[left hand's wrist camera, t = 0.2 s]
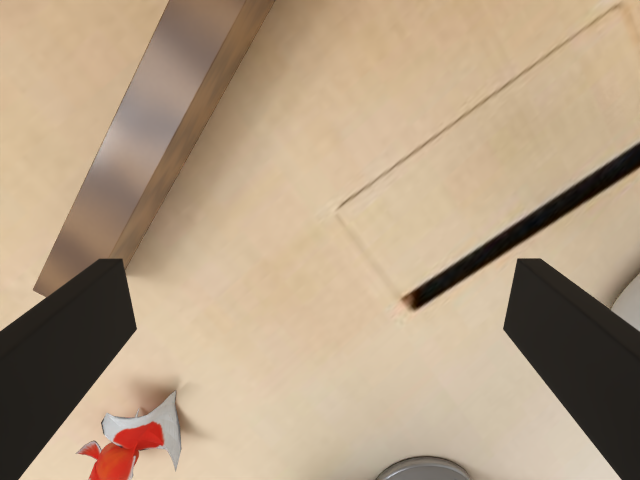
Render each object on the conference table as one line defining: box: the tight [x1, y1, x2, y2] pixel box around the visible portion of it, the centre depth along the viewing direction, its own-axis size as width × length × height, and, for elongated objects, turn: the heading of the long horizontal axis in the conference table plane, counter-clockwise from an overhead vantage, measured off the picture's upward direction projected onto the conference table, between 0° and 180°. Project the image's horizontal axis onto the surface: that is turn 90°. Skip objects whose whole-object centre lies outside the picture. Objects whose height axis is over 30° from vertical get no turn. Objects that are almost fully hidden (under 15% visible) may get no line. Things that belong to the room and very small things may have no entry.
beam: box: [33, 0, 275, 297], centre depth 31 cm, size 52×4×8 cm, turn 146°
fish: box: [77, 390, 181, 480], centre depth 47 cm, size 11×16×10 cm
